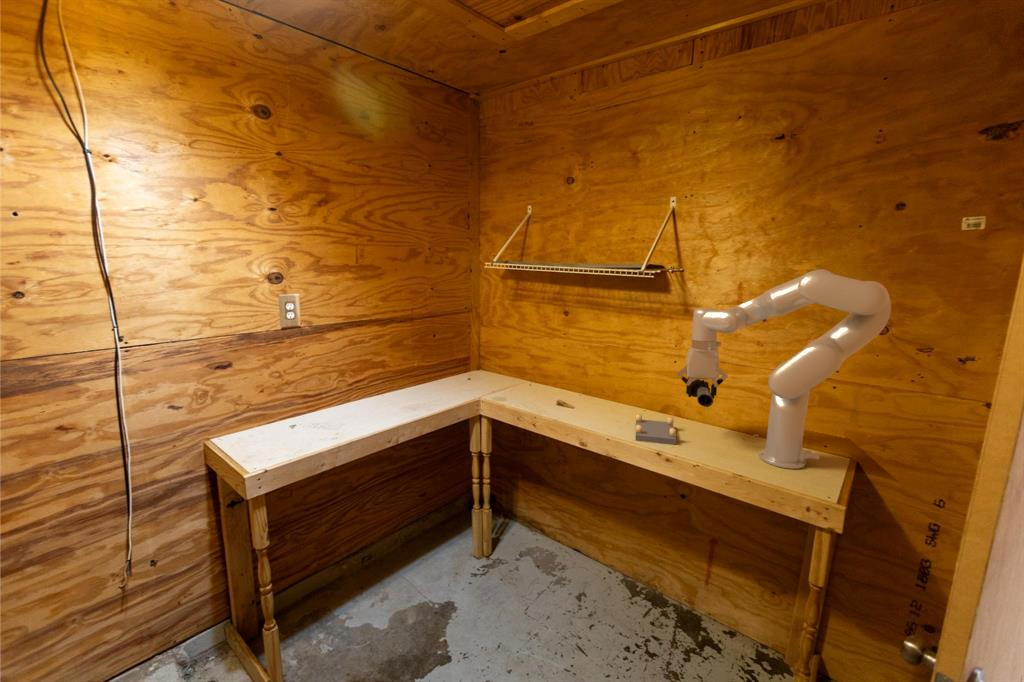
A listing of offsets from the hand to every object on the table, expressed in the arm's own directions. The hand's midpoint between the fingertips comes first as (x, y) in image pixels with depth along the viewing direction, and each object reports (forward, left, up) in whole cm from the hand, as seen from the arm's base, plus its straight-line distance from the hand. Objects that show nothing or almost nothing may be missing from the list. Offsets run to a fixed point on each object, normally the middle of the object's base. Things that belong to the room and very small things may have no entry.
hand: (700, 396), depth 156 cm
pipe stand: (+14, 0, -15) cm, 21 cm away
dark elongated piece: (0, 0, -1) cm, 1 cm away
